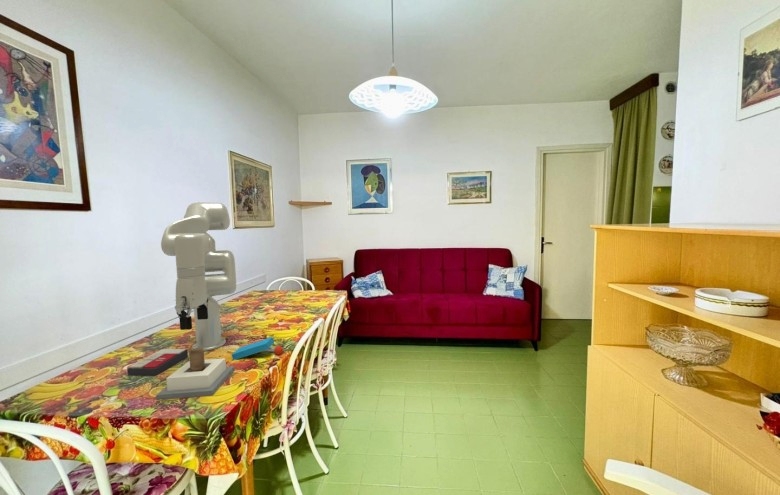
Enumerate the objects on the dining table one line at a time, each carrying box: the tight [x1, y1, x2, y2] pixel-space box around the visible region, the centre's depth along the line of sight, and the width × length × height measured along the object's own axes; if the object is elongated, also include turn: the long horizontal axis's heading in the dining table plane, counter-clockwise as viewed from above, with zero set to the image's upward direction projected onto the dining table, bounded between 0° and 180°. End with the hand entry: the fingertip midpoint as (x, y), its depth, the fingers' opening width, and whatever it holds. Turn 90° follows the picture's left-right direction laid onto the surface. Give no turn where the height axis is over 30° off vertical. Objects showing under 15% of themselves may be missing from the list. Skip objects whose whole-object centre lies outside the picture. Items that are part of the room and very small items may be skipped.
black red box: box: [126, 348, 189, 377], centre depth 110 cm, size 11×4×15 cm
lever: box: [231, 336, 284, 361], centre depth 117 cm, size 7×7×18 cm
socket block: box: [155, 357, 235, 401], centre depth 95 cm, size 16×16×6 cm
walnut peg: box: [188, 348, 205, 372], centre depth 95 cm, size 4×4×10 cm
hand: (195, 323), depth 95 cm, fingers open, 9 cm apart
